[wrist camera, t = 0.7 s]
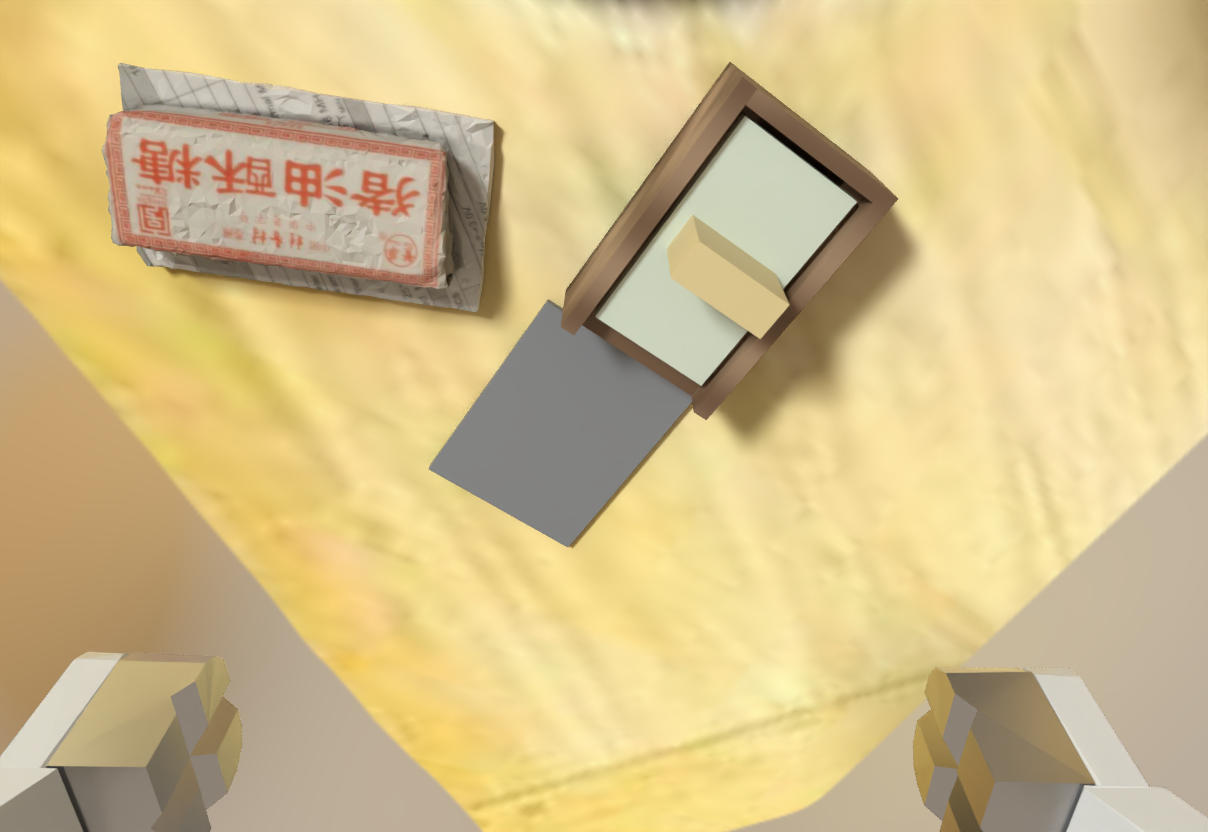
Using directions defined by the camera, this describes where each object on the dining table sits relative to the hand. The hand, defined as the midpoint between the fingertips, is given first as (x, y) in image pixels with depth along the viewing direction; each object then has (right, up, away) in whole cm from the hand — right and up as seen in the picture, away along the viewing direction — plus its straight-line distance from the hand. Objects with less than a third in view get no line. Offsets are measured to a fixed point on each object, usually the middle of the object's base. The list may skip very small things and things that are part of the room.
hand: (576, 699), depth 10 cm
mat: (-2, +2, +41) cm, 42 cm away
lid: (+6, +11, +32) cm, 35 cm away
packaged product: (-15, +15, +35) cm, 41 cm away
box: (+6, +13, +36) cm, 38 cm away
